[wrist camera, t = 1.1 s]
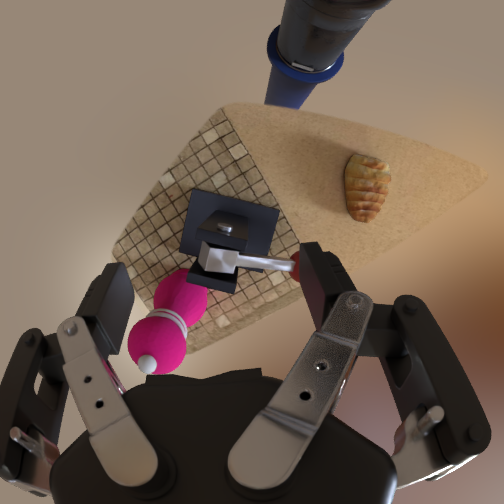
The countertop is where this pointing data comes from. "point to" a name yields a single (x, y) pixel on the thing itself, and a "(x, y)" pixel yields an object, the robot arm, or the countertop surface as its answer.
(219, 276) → the bracket
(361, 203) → the pastry
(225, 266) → the lever
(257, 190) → the countertop surface
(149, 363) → the pepper mill
